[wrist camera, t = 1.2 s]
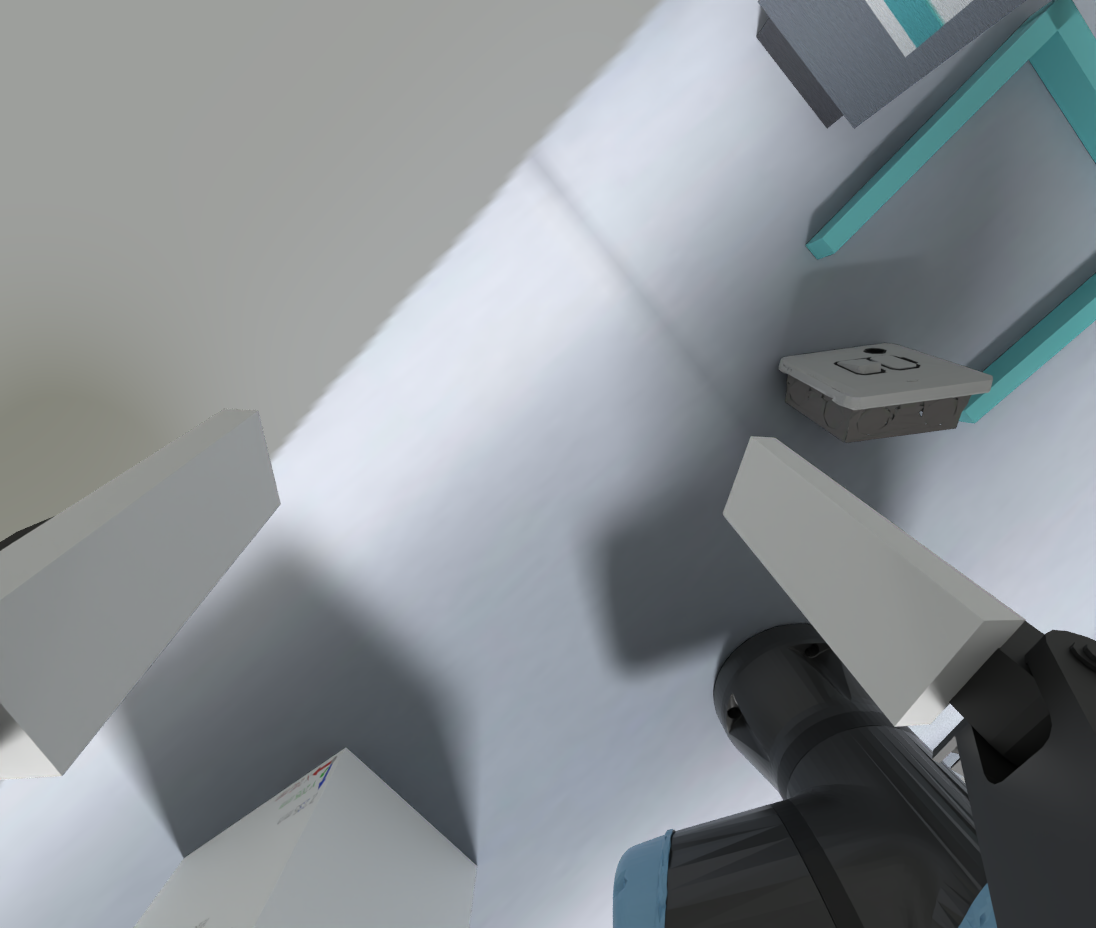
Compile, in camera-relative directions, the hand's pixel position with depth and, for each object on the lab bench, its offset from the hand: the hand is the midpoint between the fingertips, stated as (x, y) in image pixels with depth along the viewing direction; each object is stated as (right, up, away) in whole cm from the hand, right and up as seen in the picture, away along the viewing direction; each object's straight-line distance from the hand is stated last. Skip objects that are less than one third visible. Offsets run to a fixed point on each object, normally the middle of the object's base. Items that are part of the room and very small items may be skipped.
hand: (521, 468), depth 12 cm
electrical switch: (+25, +7, +24) cm, 35 cm away
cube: (-24, -45, +36) cm, 62 cm away
